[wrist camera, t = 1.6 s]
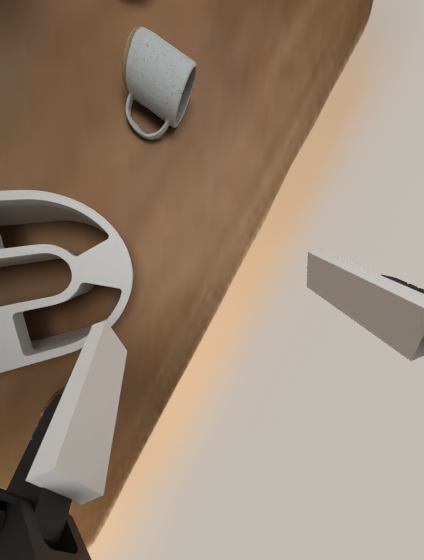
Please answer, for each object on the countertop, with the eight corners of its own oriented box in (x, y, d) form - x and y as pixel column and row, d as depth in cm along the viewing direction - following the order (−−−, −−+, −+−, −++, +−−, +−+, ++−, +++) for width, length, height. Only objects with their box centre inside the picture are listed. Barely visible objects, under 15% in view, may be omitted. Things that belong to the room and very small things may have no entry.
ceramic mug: (142, 64, 29) (141, -4, 22) (190, 100, 32) (203, 50, 25) (113, 123, 28) (102, 72, 21) (165, 155, 31) (172, 119, 24)
